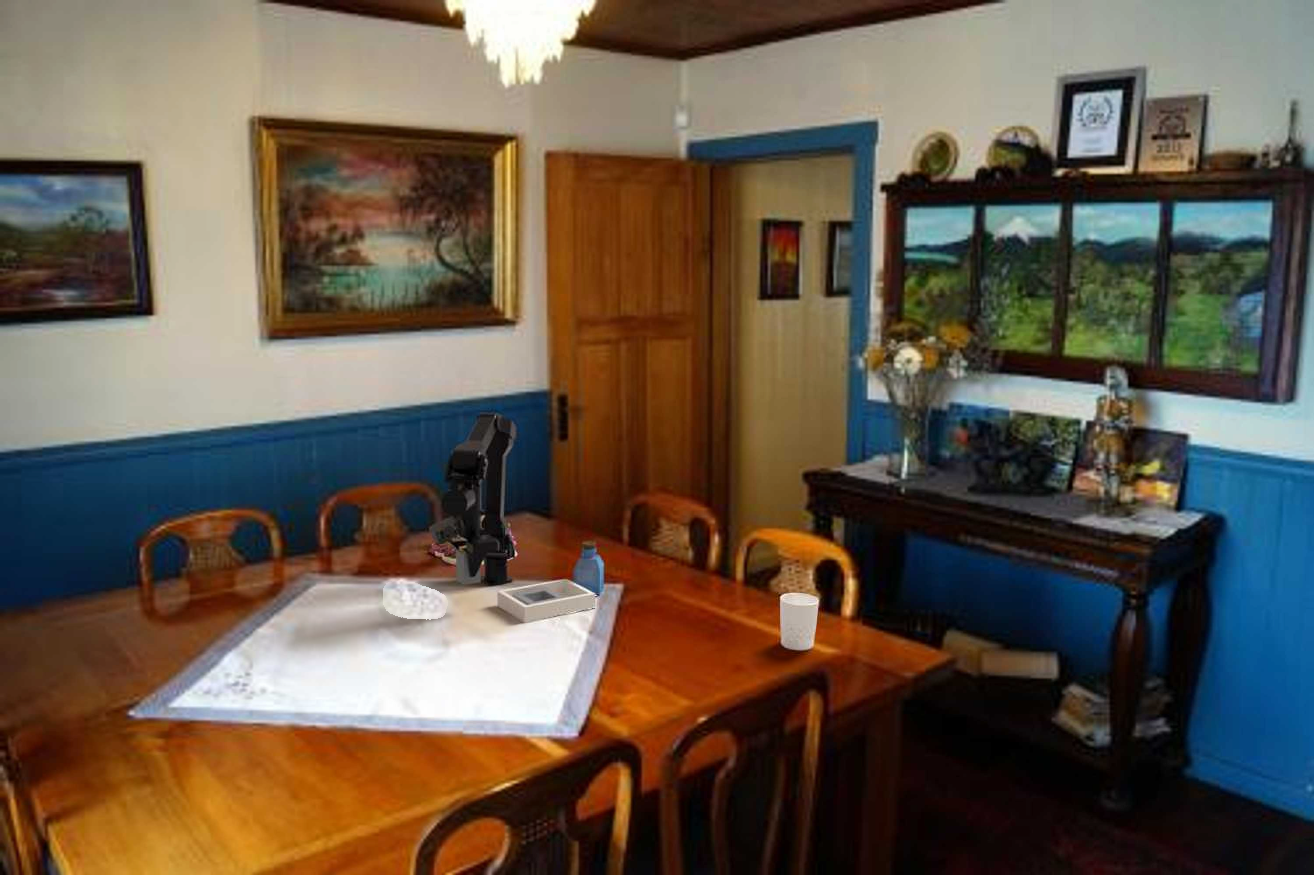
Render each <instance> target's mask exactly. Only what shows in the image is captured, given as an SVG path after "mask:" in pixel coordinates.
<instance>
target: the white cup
mask: <svg viewBox="0 0 1314 875" xmlns="http://www.w3.org/2000/svg"><path fill="white" fill-rule="evenodd" d="M779 599H780V603H779V607H780V608H779V609H780V610H779V611H780V612H779V614H780V616H779V619H780V623H779V624H780V638H781V640H780V644H781V646H783V647H784V648H786V649H788V650H793V651H808V650H811V649H812V648H814V644H815V634H816V629H817V623H818V621H817V620H818V611H819V610H818V609H819V604H820V603H819V602H820V601H819V598H818V597H817V596H814V595H812V594H808V593H804V592H803V593H802V592H791V593H784V594H782V595H780V597H779Z"/></svg>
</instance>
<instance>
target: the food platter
mask: <svg viewBox="0 0 1314 875" xmlns="http://www.w3.org/2000/svg"><path fill="white" fill-rule="evenodd" d="M484 516H485V515H483V516H481V521H482V520H483V518H484ZM508 525H509V527H510V523H508ZM510 528H511V527H510ZM510 535H511V536H512V539H513V542H514V545H515V546H516V545H517V542H516V540H514V538H515V537H514V535H512V531H511V530H510ZM506 551H507V550H506ZM428 552H429V553H430V554H432V555H433V554H434V555H435V556H436V557H439V558H441V559H442V561H444V562H445V563H449V564H452V565H453V566H455V565H456V551H455V548H454V547H453V546H452V545H451V544H449V543H448V542H446V543H444V544H438V542H436V541H433V543H431V544H430V546H429V547H428ZM517 556H518V552H517V551H516V550H515V557H517ZM515 557H514V558H515ZM512 559H513V558H511V559H507V562H508V561H510V560H512ZM481 566H484V560H483V562H482V564H481Z"/></svg>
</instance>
